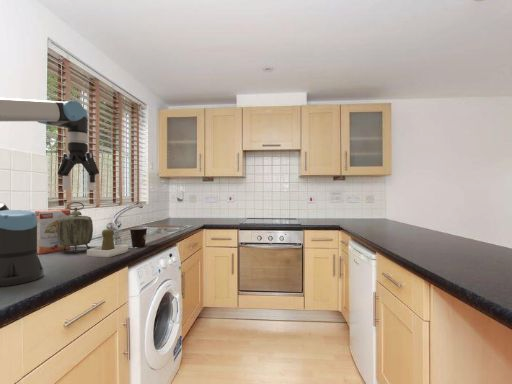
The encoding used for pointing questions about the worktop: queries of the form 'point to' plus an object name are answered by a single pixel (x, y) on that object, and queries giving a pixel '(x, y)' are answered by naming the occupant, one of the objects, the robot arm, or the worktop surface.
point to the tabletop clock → (75, 229)
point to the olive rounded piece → (108, 239)
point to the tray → (107, 251)
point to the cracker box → (49, 230)
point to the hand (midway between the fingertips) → (78, 190)
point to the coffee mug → (138, 236)
